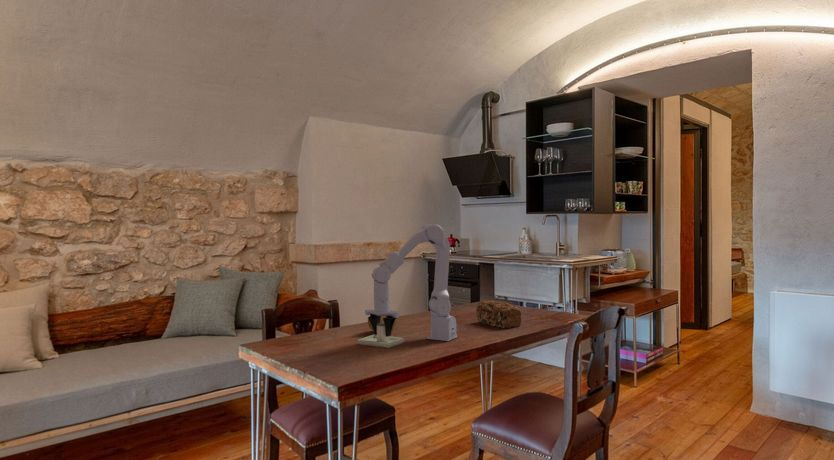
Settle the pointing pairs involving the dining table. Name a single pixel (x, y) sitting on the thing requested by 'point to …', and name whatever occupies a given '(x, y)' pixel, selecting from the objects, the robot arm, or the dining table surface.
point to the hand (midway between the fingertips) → (382, 335)
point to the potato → (383, 321)
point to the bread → (498, 314)
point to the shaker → (381, 333)
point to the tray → (373, 342)
